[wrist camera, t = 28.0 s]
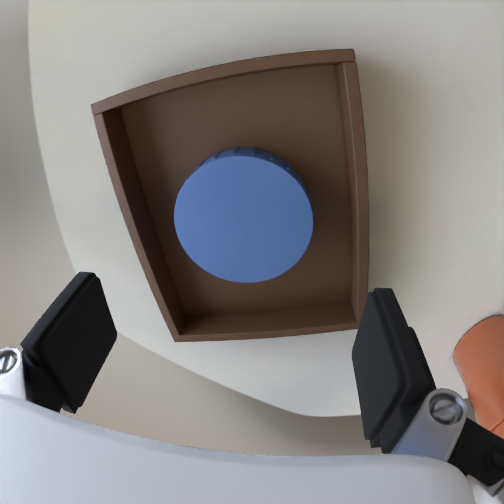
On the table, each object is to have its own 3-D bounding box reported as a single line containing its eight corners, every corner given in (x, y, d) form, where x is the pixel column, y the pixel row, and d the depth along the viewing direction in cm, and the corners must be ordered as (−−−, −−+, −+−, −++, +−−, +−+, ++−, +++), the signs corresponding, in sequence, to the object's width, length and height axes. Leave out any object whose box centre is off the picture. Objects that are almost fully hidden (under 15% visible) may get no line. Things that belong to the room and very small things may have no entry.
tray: (357, 299, 20) (365, 328, 18) (184, 314, 22) (174, 342, 20) (341, 53, 13) (354, 48, 10) (115, 99, 15) (89, 104, 12)
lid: (178, 147, 15) (166, 156, 14) (315, 149, 15) (320, 157, 13) (189, 262, 19) (181, 280, 17) (306, 267, 18) (308, 286, 17)
